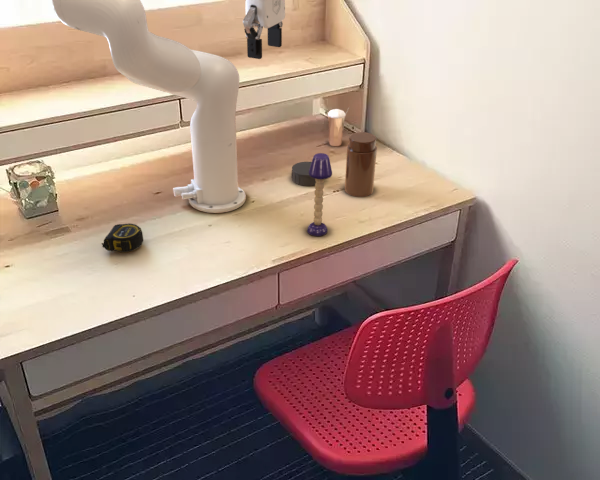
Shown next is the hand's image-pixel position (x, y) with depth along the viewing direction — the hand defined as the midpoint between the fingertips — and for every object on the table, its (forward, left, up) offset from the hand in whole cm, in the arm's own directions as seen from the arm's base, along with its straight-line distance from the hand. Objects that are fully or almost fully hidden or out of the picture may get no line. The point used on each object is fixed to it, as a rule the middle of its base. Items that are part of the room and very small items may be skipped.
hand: (265, 51), depth 147 cm
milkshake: (+23, +10, -28) cm, 38 cm away
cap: (+8, -7, -26) cm, 28 cm away
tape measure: (-38, -23, -28) cm, 53 cm away
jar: (+17, -16, -28) cm, 37 cm away
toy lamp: (+1, -30, -28) cm, 41 cm away
